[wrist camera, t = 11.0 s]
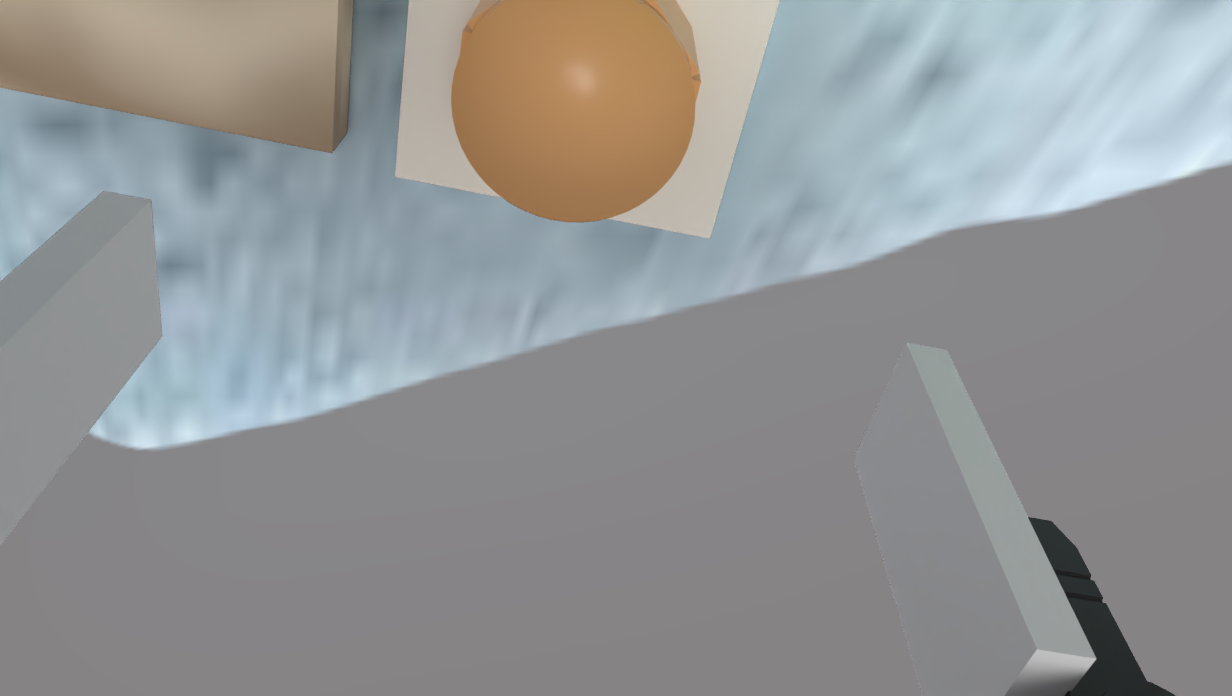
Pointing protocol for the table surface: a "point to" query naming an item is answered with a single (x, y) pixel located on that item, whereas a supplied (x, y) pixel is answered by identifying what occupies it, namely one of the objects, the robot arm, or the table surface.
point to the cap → (576, 102)
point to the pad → (729, 65)
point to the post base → (190, 61)
